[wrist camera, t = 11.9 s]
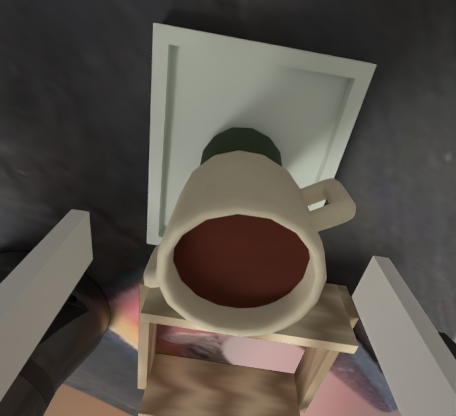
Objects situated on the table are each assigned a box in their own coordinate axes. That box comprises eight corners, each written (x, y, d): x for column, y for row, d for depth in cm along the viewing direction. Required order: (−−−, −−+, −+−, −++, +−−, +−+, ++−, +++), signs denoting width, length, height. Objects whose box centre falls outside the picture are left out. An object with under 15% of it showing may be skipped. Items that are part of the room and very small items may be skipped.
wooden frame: (147, 356, 39) (129, 416, 33) (151, 255, 30) (127, 311, 24) (299, 379, 39) (309, 442, 33) (346, 286, 31) (370, 348, 25)
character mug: (200, 224, 26) (170, 362, 15) (158, 152, 23) (79, 259, 12) (322, 176, 24) (395, 301, 13) (292, 89, 21) (352, 149, 9)
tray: (152, 230, 29) (146, 243, 27) (161, 23, 20) (153, 22, 18) (297, 254, 29) (300, 268, 27) (365, 61, 21) (376, 64, 19)
